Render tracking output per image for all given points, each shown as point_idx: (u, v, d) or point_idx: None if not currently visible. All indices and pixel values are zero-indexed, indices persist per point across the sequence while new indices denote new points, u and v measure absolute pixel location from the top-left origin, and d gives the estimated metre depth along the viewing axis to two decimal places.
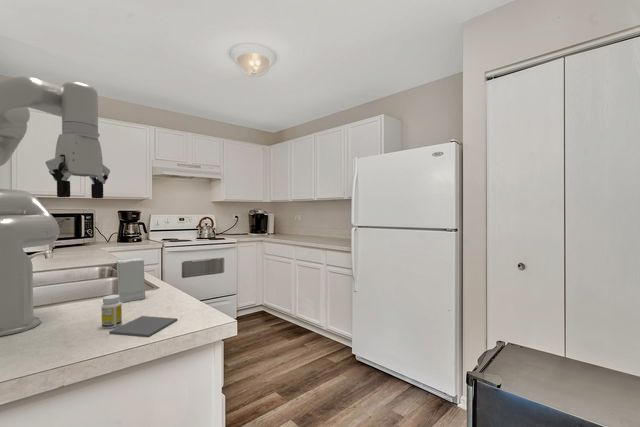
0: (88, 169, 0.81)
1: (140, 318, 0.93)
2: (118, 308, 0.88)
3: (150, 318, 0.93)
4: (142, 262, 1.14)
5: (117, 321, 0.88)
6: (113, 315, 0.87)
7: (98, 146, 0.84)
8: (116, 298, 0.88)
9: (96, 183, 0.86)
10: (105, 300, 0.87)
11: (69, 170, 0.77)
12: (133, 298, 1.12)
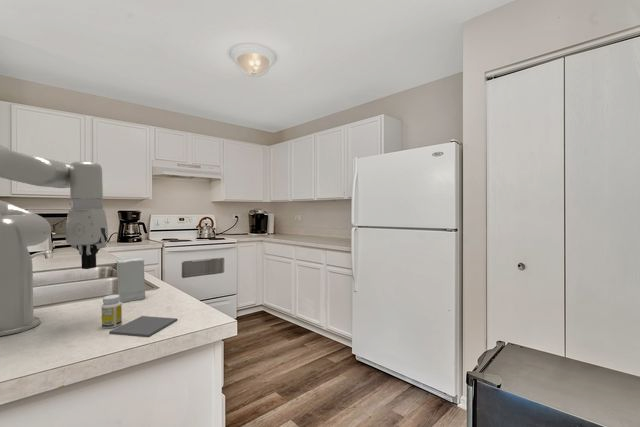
0: None
1: (140, 318, 0.93)
2: (118, 308, 0.88)
3: (150, 318, 0.93)
4: (142, 262, 1.14)
5: (117, 321, 0.88)
6: (113, 315, 0.87)
7: None
8: (116, 298, 0.88)
9: None
10: (105, 300, 0.87)
11: None
12: (133, 298, 1.12)
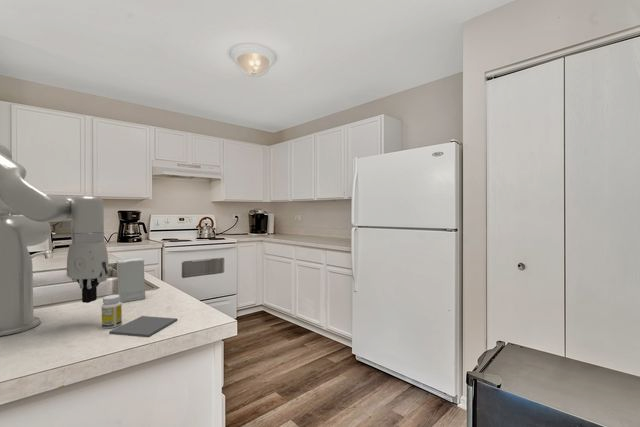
0: None
1: (140, 318, 0.93)
2: (118, 308, 0.88)
3: (150, 318, 0.93)
4: (142, 262, 1.14)
5: (117, 321, 0.88)
6: (113, 315, 0.87)
7: None
8: (116, 298, 0.88)
9: None
10: (105, 300, 0.87)
11: None
12: (133, 298, 1.12)
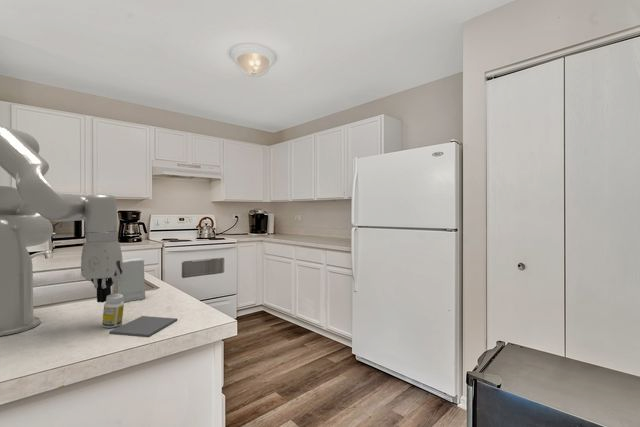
0: None
1: (140, 318, 0.93)
2: (120, 308, 0.88)
3: (150, 318, 0.93)
4: (142, 262, 1.14)
5: (118, 321, 0.88)
6: (115, 315, 0.87)
7: None
8: (119, 298, 0.88)
9: None
10: (108, 299, 0.87)
11: None
12: (133, 298, 1.12)
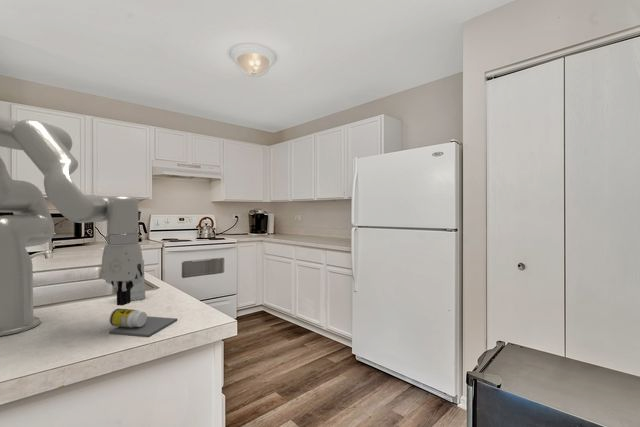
0: None
1: None
2: None
3: (150, 318, 0.93)
4: None
5: None
6: None
7: None
8: None
9: None
10: (135, 324, 0.84)
11: None
12: (133, 298, 1.12)
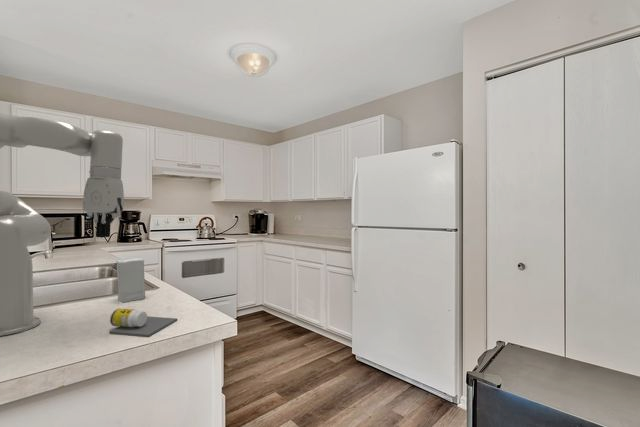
0: None
1: None
2: None
3: (150, 318, 0.93)
4: (142, 262, 1.14)
5: None
6: None
7: None
8: None
9: None
10: (135, 323, 0.84)
11: None
12: (133, 298, 1.12)
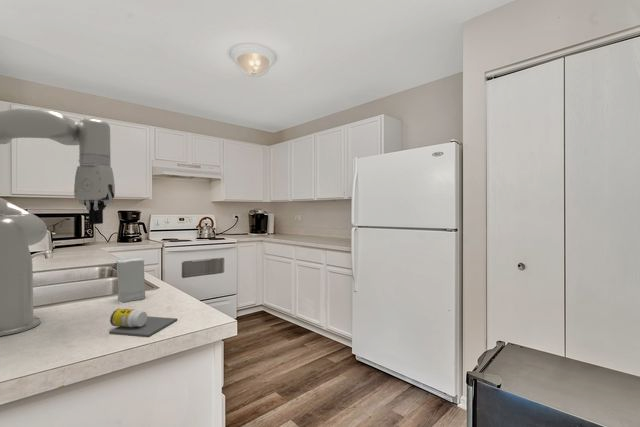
0: None
1: None
2: None
3: (150, 318, 0.93)
4: (142, 262, 1.14)
5: None
6: None
7: None
8: None
9: None
10: (135, 323, 0.84)
11: None
12: (133, 298, 1.12)
